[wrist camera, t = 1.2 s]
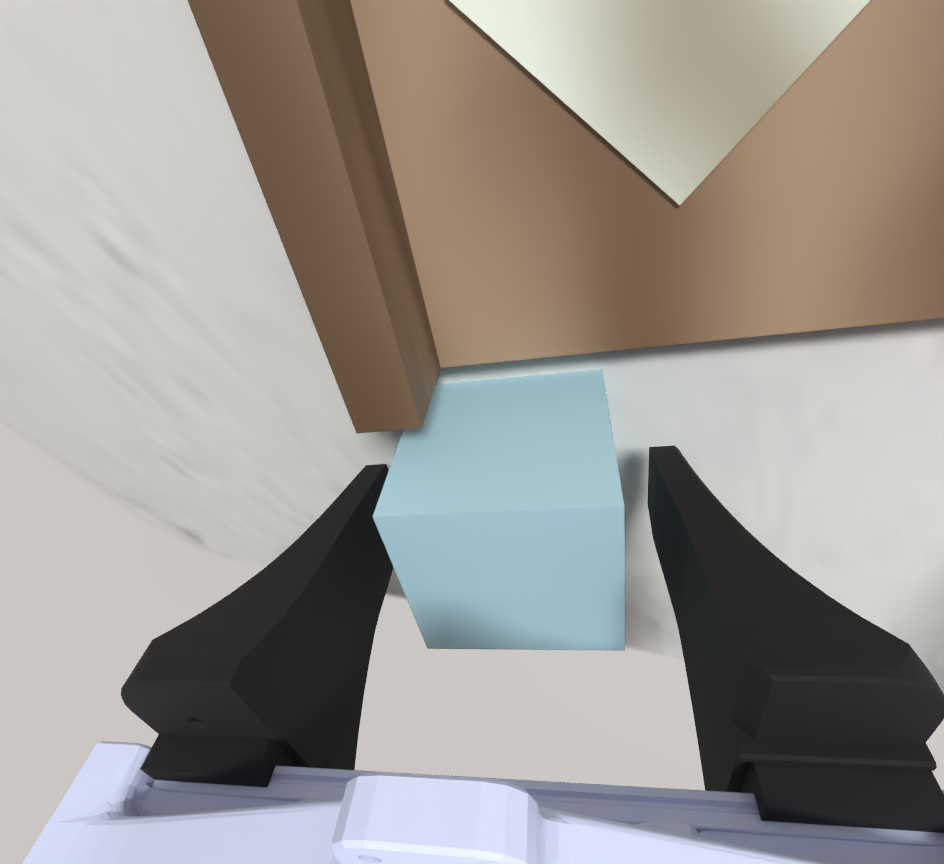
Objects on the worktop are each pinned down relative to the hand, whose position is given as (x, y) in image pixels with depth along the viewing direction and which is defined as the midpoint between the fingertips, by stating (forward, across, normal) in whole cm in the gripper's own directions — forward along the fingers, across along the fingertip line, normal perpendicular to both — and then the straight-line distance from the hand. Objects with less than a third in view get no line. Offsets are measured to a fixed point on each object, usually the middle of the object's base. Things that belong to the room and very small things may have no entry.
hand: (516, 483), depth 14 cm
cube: (+2, 0, 0) cm, 2 cm away
